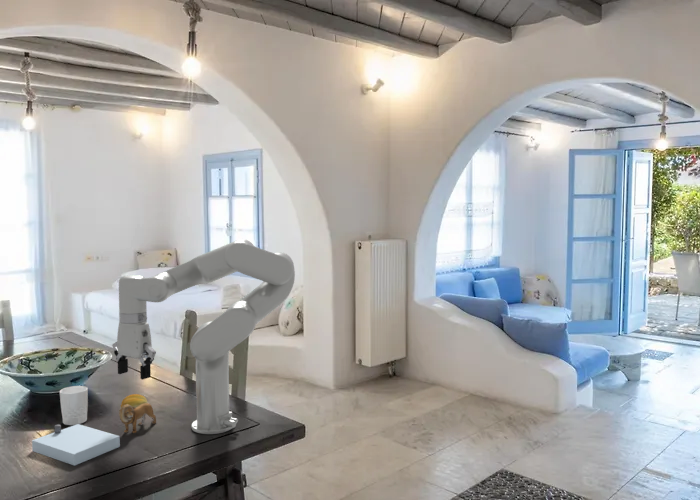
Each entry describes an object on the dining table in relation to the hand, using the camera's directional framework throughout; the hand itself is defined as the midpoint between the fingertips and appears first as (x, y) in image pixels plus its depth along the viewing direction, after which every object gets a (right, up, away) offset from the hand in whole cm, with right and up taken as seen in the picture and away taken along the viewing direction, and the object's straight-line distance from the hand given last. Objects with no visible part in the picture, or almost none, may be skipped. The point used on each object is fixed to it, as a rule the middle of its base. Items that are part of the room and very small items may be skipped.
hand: (134, 375), depth 181 cm
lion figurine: (+1, -16, +2) cm, 17 cm away
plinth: (-11, -17, -12) cm, 24 cm away
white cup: (-21, -16, +8) cm, 28 cm away
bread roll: (-7, -15, +21) cm, 27 cm away
